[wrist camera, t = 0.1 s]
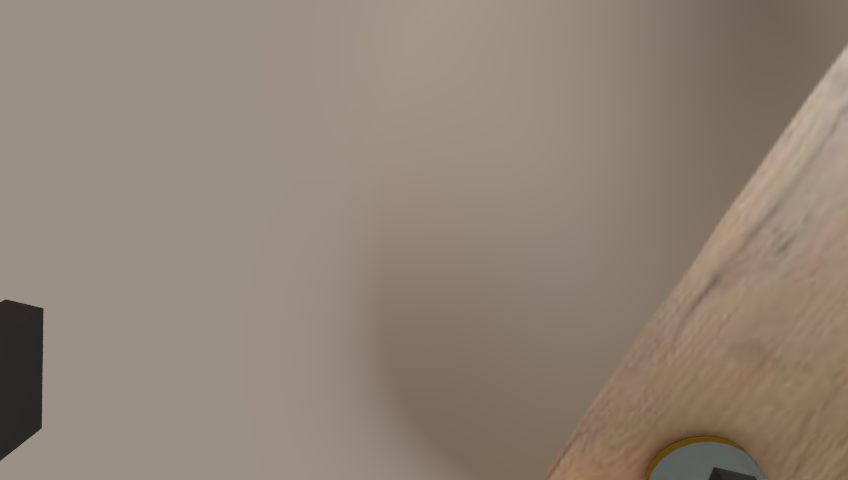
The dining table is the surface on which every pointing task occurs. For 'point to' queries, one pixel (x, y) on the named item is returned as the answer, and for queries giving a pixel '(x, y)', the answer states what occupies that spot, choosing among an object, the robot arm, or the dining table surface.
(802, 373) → the dining table surface
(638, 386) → the dining table surface
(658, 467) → the bottle
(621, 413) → the dining table surface
